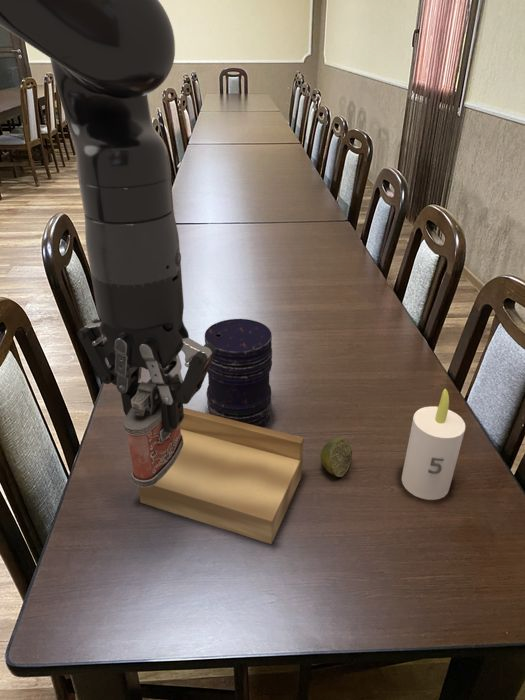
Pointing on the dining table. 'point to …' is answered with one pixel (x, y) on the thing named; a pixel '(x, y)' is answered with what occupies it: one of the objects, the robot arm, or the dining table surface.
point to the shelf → (230, 476)
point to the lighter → (150, 437)
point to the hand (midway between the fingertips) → (154, 422)
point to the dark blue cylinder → (240, 371)
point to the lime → (336, 456)
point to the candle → (433, 450)
